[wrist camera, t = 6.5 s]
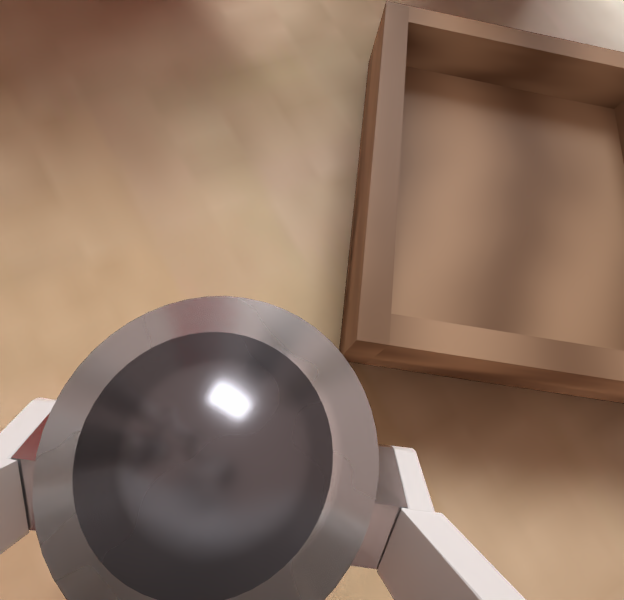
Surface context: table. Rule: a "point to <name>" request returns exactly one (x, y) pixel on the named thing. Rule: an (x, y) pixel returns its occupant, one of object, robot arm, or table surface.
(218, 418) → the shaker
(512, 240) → the tray
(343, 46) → the table surface
